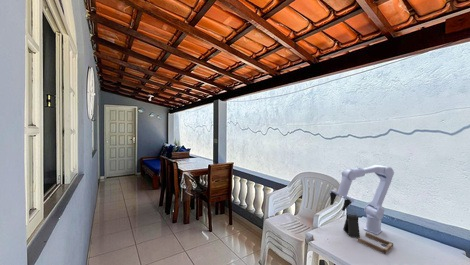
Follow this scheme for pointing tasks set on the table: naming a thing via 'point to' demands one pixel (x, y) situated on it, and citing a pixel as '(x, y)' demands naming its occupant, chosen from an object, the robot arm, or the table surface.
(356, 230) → the phone stand
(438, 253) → the table surface
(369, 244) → the walnut bracket
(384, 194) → the robot arm
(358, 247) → the table surface
